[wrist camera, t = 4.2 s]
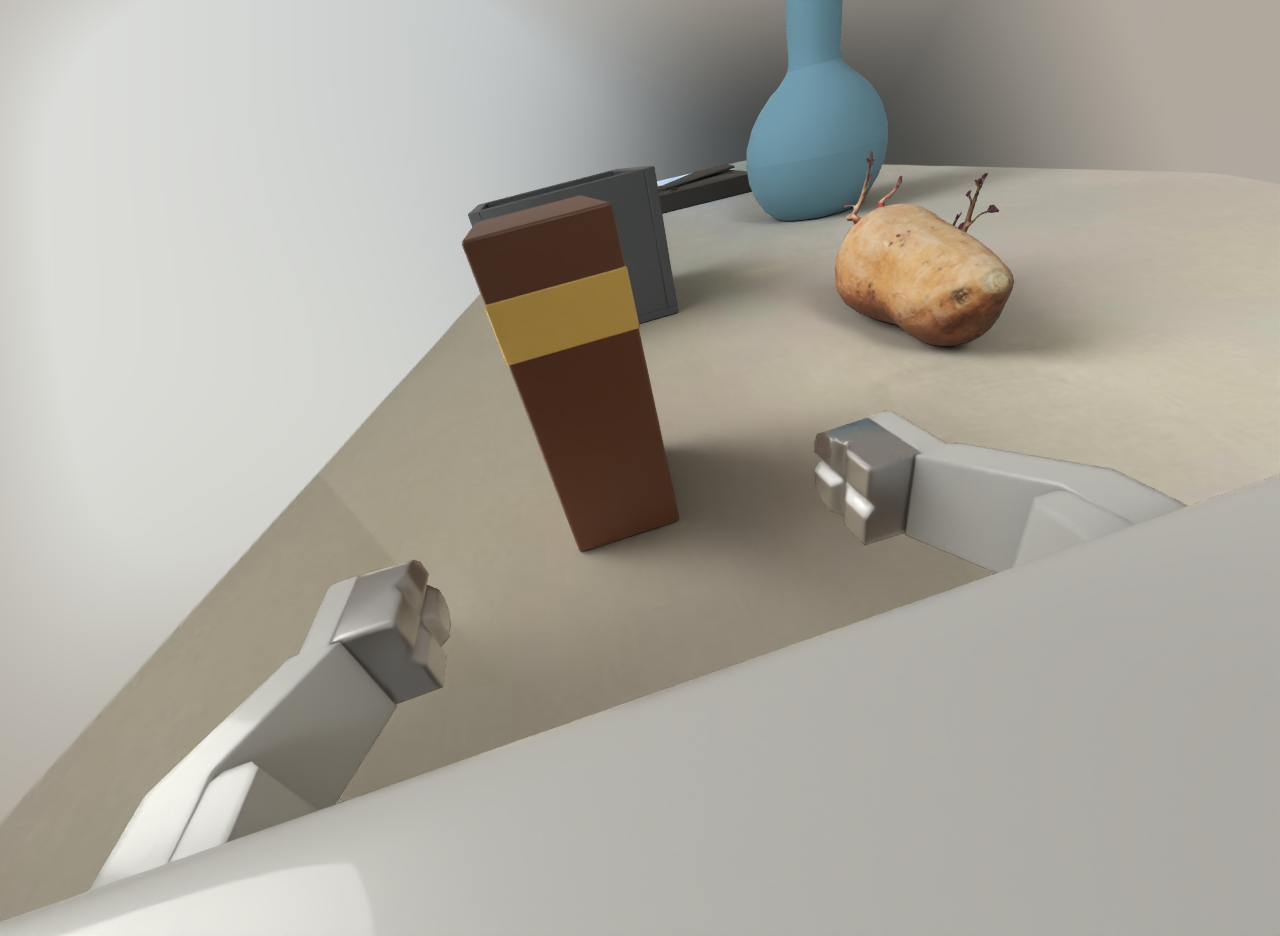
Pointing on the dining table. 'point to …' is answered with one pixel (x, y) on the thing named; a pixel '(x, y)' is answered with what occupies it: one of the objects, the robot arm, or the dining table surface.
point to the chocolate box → (577, 362)
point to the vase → (816, 124)
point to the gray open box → (635, 224)
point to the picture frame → (703, 187)
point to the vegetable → (921, 271)
